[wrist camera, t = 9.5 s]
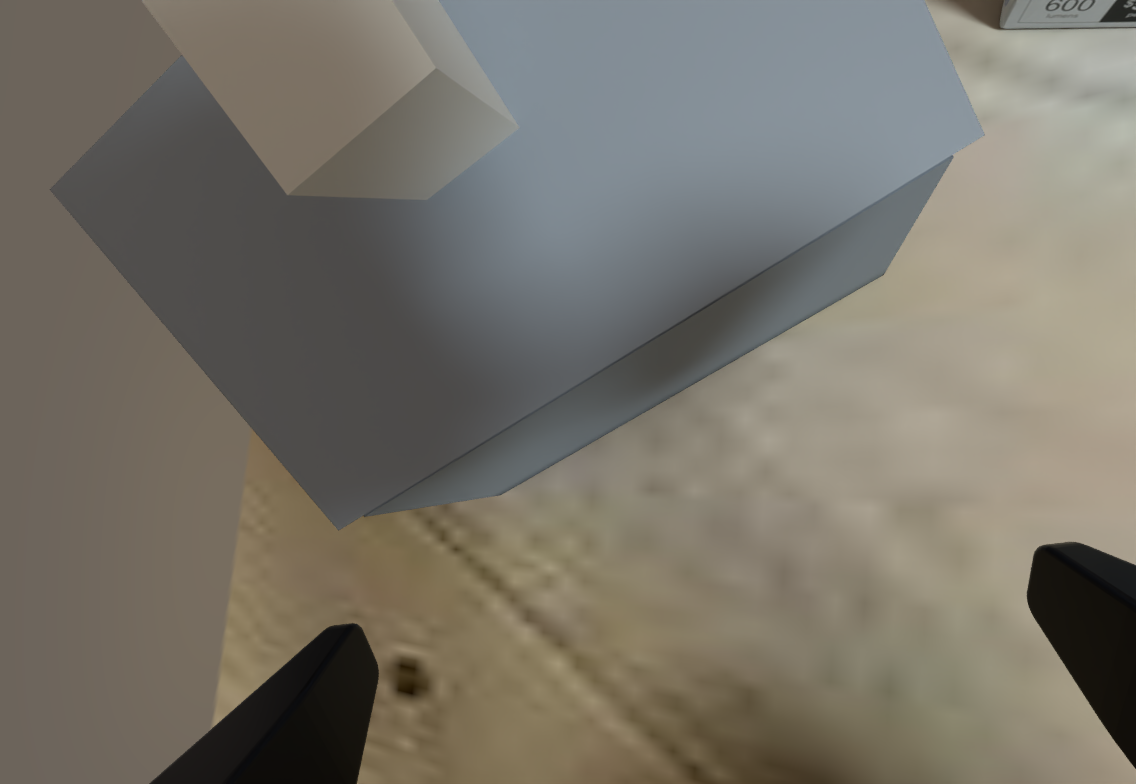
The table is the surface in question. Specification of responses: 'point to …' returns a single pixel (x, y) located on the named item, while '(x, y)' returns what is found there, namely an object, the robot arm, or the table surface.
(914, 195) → the carton
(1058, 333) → the table surface
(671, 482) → the table surface
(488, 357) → the carton lid
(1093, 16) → the light bulb box
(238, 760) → the robot arm
